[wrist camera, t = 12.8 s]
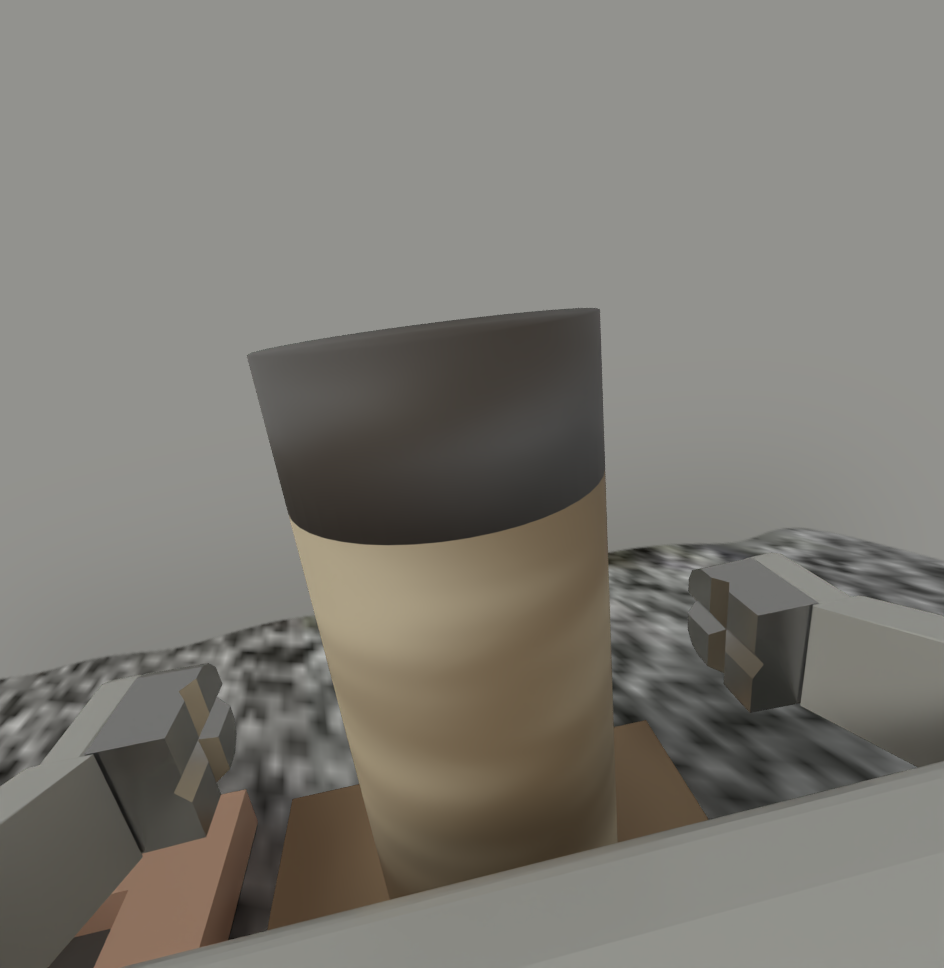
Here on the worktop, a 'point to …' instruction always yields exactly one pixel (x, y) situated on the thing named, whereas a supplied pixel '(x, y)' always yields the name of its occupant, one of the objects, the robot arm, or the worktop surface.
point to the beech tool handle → (458, 579)
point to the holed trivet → (172, 896)
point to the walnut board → (353, 855)
